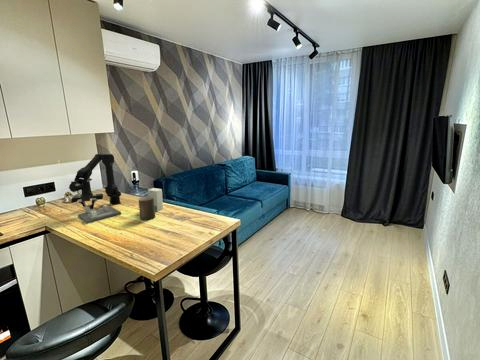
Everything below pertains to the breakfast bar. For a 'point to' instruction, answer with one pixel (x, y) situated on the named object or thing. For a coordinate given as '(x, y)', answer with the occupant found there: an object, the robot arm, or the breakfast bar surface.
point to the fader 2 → (105, 207)
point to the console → (99, 215)
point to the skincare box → (156, 198)
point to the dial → (88, 209)
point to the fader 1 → (93, 214)
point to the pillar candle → (146, 208)
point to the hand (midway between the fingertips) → (89, 209)
